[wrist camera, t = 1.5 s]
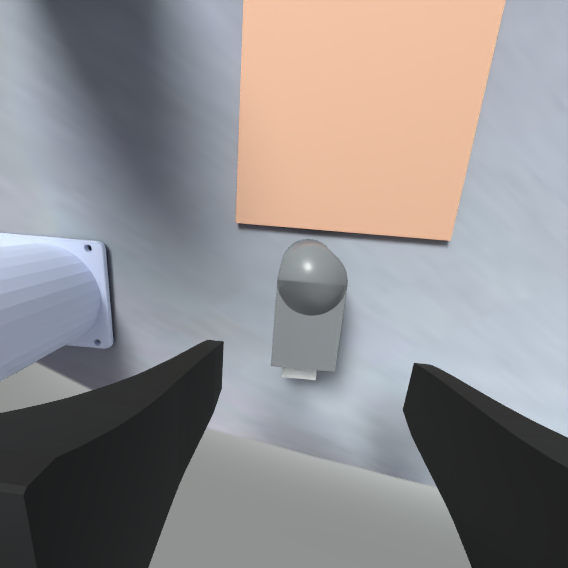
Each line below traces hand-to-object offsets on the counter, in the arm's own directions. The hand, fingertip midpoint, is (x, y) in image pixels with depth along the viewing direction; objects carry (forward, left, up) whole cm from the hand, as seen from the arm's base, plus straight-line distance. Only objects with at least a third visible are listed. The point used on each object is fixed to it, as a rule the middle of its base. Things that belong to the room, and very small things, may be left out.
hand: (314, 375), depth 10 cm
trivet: (+2, +12, -10) cm, 15 cm away
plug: (0, 0, -10) cm, 10 cm away
